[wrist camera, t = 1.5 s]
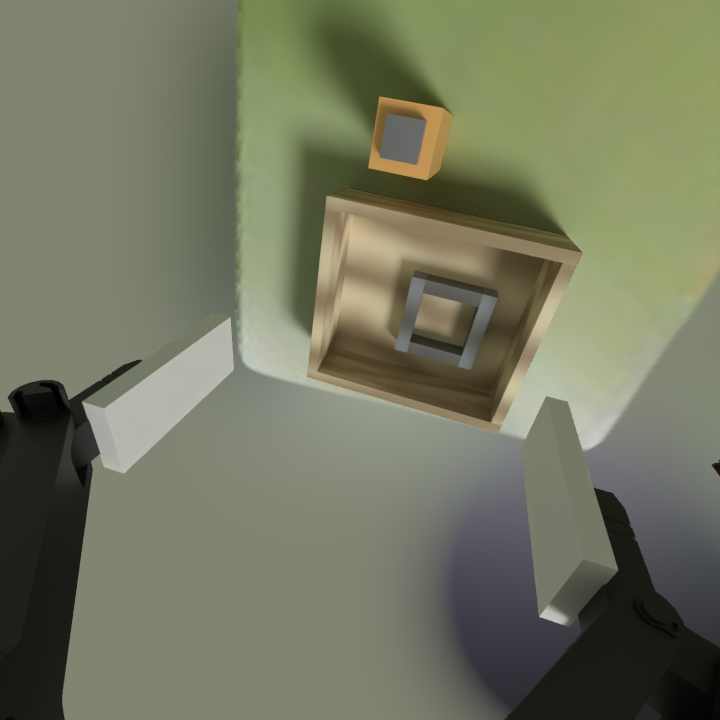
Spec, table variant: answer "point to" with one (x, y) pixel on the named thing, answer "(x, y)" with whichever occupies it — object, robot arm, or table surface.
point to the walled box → (433, 304)
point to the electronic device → (717, 467)
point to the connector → (409, 138)
